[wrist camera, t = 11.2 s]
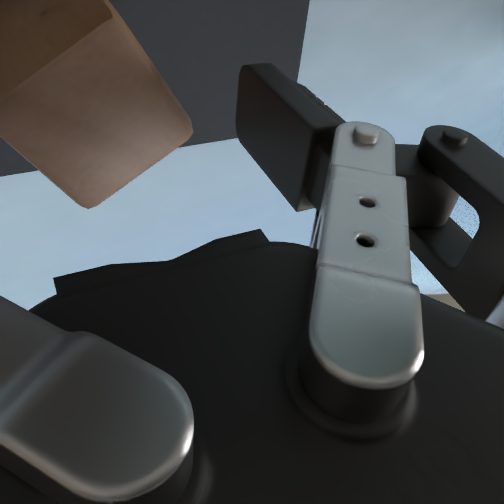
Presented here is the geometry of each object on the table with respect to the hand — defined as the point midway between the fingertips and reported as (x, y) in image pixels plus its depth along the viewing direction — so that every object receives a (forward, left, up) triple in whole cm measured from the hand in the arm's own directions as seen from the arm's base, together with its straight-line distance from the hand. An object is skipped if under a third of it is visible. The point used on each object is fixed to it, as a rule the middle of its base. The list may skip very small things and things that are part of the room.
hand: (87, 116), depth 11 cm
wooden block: (0, 0, -8) cm, 8 cm away
